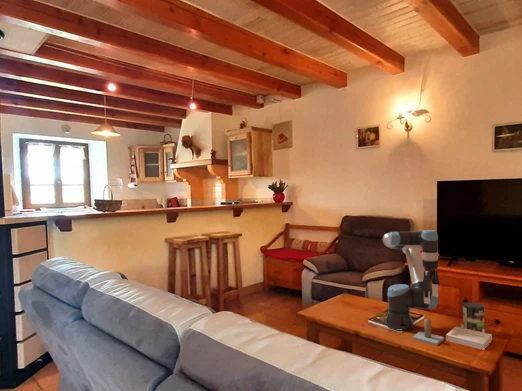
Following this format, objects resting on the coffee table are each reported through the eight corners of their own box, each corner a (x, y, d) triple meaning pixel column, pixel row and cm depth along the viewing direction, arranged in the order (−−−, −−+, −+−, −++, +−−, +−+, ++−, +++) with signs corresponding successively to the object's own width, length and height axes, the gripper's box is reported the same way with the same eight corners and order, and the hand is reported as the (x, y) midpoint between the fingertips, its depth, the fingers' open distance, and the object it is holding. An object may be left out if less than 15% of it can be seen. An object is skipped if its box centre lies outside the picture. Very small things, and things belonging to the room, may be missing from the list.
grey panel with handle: (412, 339, 184) (411, 319, 184) (420, 333, 191) (419, 314, 191) (436, 346, 176) (435, 325, 176) (443, 340, 183) (442, 319, 183)
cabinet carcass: (446, 340, 181) (446, 330, 181) (455, 331, 192) (455, 322, 192) (484, 350, 169) (483, 340, 169) (492, 340, 179) (491, 330, 179)
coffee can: (489, 332, 189) (488, 306, 189) (474, 335, 186) (473, 308, 186) (473, 325, 199) (472, 300, 199) (458, 328, 196) (457, 303, 196)
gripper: (430, 265, 171) (431, 308, 172) (444, 256, 189) (445, 294, 190) (414, 263, 176) (415, 305, 177) (430, 254, 194) (431, 292, 195)
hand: (431, 299), depth 183 cm, fingers open, 13 cm apart
